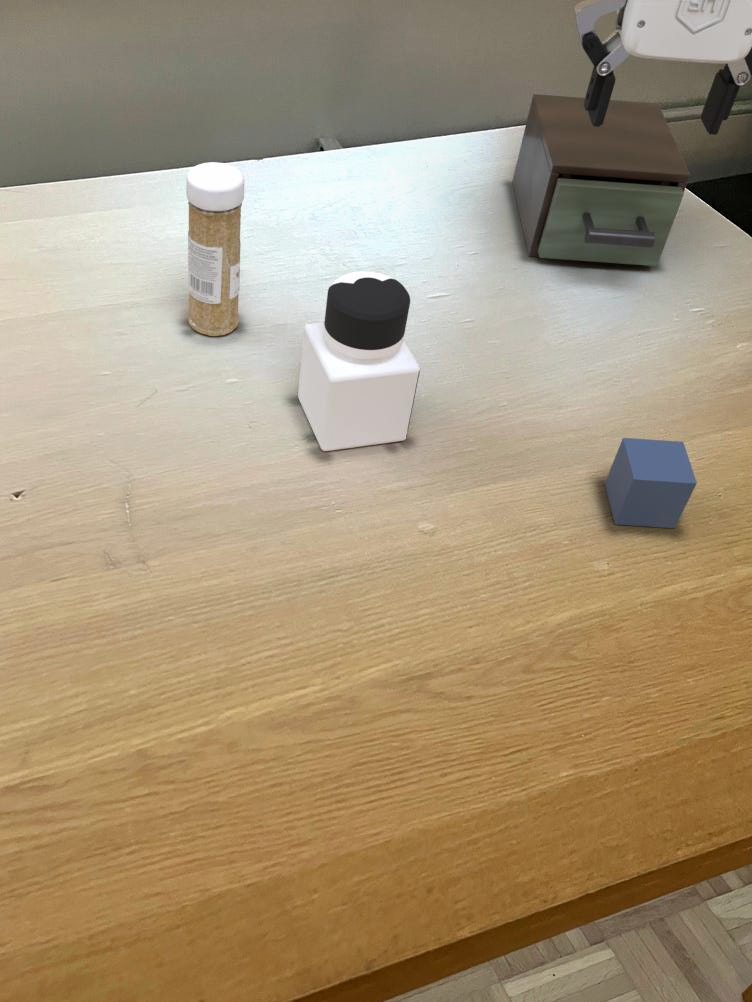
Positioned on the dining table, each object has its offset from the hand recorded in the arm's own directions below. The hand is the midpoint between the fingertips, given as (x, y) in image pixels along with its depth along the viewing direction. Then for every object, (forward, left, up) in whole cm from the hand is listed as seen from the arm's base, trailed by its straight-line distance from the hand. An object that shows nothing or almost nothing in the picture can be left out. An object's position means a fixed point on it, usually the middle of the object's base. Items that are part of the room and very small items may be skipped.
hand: (651, 123), depth 88 cm
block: (+2, +30, -15) cm, 34 cm away
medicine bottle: (+24, +22, -15) cm, 36 cm away
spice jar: (+36, +10, -15) cm, 40 cm away
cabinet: (0, -12, -15) cm, 19 cm away
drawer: (0, -7, -14) cm, 16 cm away
